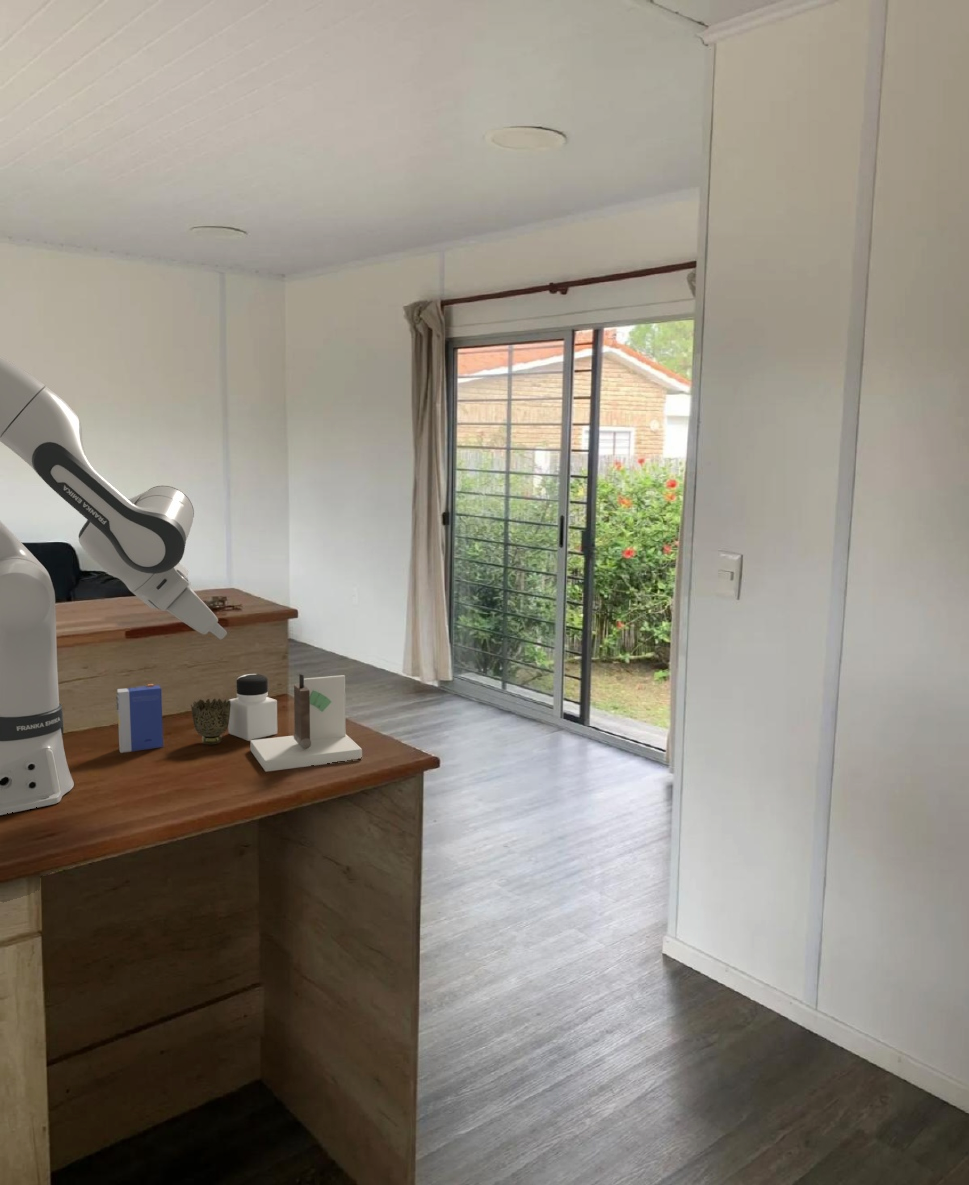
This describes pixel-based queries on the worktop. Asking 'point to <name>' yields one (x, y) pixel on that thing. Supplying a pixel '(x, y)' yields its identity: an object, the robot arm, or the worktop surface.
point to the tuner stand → (313, 731)
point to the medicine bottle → (252, 709)
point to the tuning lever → (302, 714)
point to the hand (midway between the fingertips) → (223, 635)
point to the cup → (211, 719)
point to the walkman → (140, 718)
